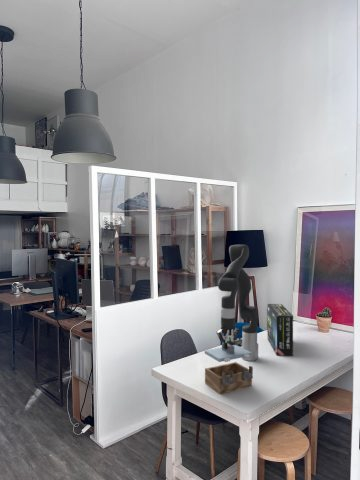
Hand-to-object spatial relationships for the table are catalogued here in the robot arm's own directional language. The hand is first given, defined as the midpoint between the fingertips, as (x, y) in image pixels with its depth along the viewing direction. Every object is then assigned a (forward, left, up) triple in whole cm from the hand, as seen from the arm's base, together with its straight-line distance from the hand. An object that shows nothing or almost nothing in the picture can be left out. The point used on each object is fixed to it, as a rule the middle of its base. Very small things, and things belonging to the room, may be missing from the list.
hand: (227, 348), depth 189 cm
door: (0, 0, -3) cm, 3 cm away
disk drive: (-44, -55, -20) cm, 73 cm away
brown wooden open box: (0, +1, -19) cm, 19 cm away
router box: (-66, -33, -19) cm, 77 cm away
